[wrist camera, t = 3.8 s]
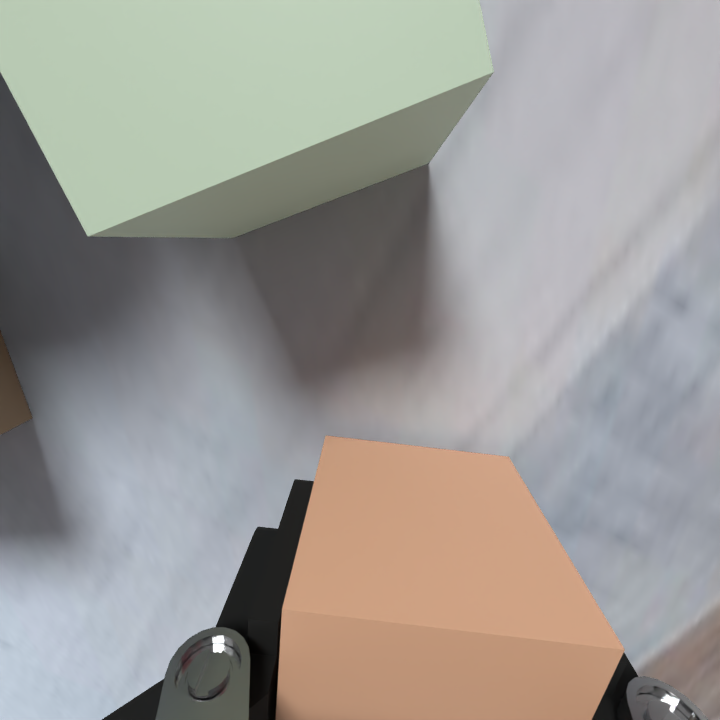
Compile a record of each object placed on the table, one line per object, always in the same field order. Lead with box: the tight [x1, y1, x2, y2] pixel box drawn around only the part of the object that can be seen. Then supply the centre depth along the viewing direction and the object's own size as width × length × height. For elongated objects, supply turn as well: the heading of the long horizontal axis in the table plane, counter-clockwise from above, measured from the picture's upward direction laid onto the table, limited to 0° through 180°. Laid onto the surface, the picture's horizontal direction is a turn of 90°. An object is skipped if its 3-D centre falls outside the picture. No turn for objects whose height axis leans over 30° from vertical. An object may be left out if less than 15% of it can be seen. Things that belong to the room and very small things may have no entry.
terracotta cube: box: [276, 436, 625, 720], centre depth 9 cm, size 5×5×5 cm
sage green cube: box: [0, 0, 494, 238], centre depth 6 cm, size 5×5×5 cm
